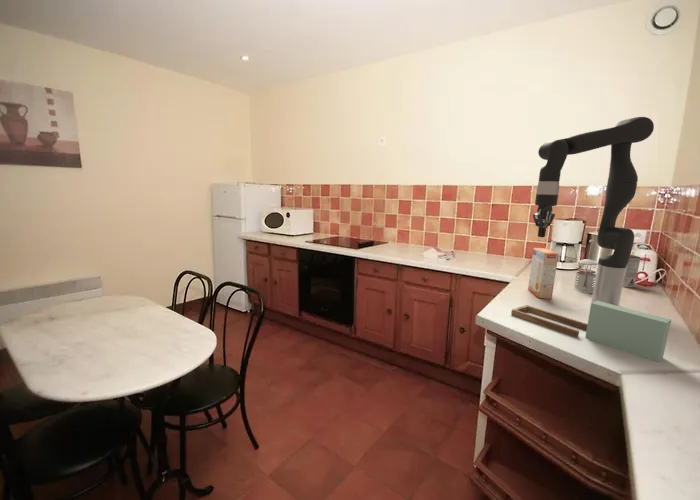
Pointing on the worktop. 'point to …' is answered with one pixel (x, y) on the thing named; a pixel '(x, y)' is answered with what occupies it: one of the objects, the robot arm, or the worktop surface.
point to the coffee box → (631, 271)
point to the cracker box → (543, 272)
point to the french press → (585, 276)
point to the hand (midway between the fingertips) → (541, 236)
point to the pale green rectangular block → (628, 330)
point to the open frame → (549, 324)
